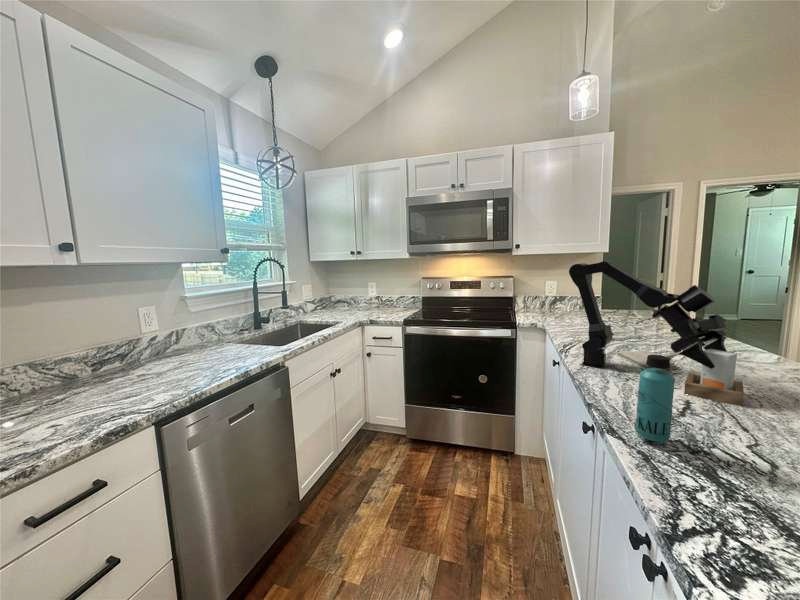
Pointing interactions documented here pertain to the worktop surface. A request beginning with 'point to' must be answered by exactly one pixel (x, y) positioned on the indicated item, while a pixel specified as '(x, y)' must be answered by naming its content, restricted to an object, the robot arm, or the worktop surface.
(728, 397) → the walnut holder
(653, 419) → the beverage bottle
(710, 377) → the skincare box
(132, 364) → the worktop surface
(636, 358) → the washcloth
